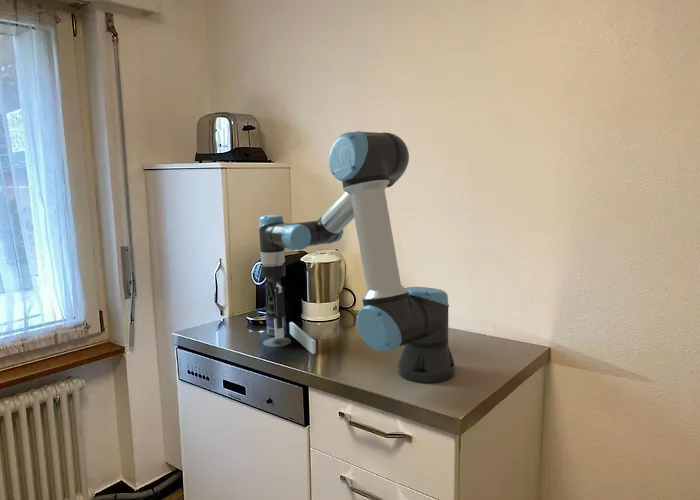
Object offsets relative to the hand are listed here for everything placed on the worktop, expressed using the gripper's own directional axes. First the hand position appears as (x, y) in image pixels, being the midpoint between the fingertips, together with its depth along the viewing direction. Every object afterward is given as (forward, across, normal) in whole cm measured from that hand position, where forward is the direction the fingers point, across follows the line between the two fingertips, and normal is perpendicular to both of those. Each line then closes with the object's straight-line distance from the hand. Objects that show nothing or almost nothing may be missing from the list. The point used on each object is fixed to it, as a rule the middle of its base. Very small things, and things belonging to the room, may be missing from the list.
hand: (276, 334), depth 173 cm
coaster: (+3, 0, 0) cm, 3 cm away
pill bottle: (+1, 0, 0) cm, 1 cm away
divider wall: (+3, -5, -7) cm, 9 cm away
